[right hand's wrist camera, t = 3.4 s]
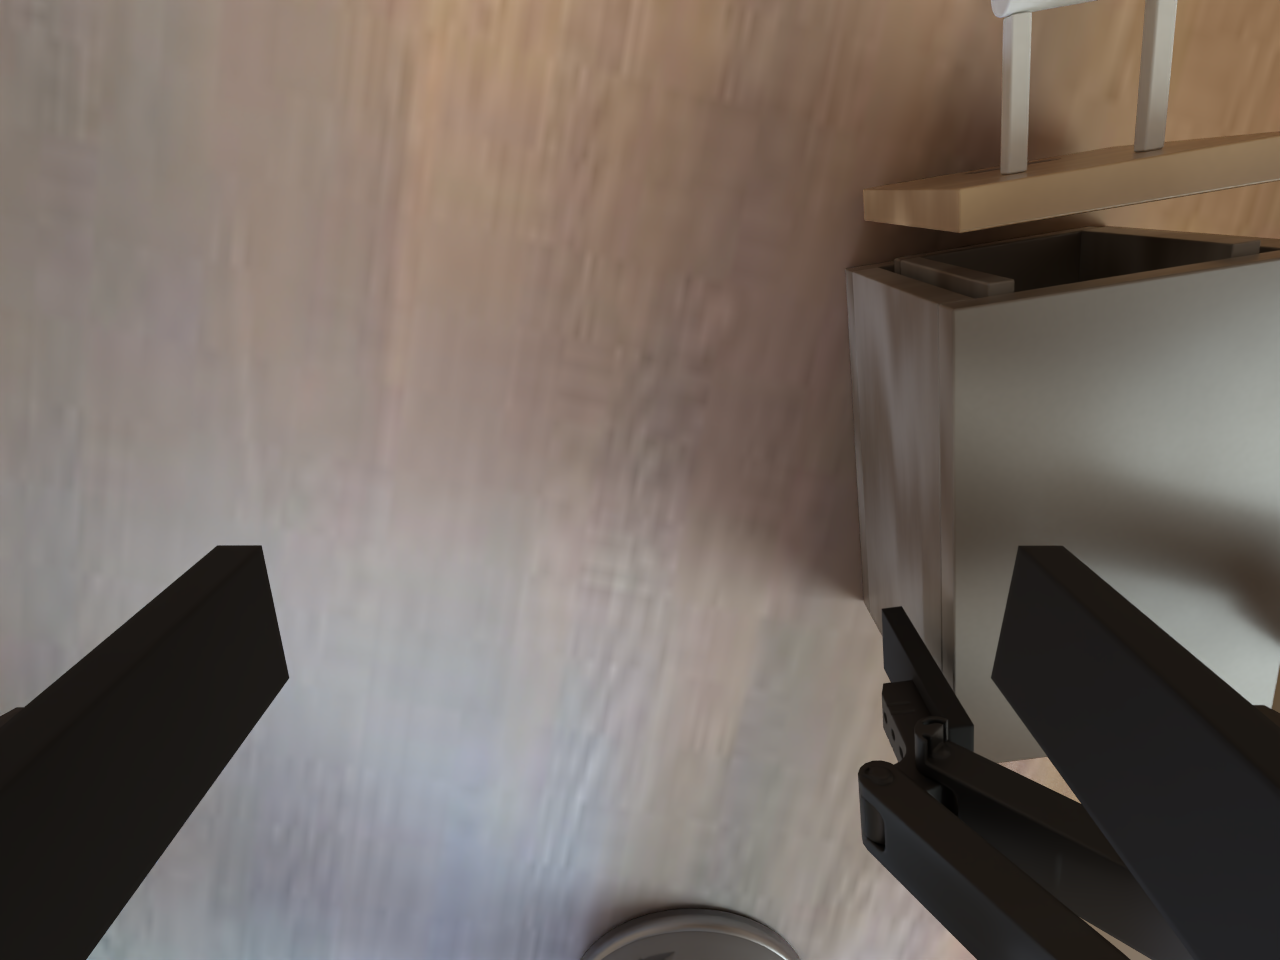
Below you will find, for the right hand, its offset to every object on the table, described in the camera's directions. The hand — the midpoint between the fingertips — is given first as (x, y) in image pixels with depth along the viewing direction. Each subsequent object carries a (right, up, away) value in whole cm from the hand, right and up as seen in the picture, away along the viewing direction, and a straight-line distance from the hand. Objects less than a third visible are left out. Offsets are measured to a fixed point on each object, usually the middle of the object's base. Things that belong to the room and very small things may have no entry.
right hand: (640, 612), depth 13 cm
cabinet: (+16, +5, +21) cm, 27 cm away
